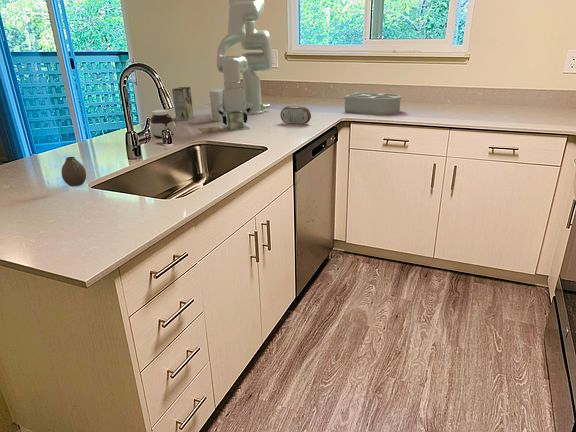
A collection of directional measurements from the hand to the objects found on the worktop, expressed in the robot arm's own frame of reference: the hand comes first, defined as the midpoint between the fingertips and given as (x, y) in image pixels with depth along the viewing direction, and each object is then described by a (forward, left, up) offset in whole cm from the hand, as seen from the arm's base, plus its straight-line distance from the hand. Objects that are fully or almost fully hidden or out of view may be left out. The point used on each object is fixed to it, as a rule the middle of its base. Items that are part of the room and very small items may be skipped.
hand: (235, 123), depth 207 cm
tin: (-29, +4, -3) cm, 29 cm away
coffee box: (+19, -36, -3) cm, 41 cm away
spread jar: (+33, 0, -3) cm, 33 cm away
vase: (+66, +57, -3) cm, 87 cm away
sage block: (0, 0, -2) cm, 2 cm away
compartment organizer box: (-79, -7, -3) cm, 79 cm away
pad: (+12, 0, -2) cm, 12 cm away
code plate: (0, 0, -2) cm, 2 cm away
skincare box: (+2, -22, -3) cm, 22 cm away
